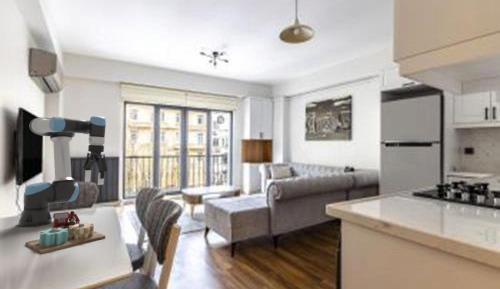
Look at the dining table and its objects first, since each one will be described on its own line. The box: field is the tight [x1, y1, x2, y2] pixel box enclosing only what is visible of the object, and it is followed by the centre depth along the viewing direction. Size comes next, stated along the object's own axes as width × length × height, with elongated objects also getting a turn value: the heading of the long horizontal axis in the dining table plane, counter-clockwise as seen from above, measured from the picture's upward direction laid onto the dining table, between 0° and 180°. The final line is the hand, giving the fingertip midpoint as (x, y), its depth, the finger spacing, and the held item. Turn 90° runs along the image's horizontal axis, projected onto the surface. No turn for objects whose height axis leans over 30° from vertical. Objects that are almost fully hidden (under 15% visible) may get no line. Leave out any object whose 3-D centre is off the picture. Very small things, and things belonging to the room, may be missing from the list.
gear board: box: [25, 222, 106, 255], centre depth 133 cm, size 17×28×7 cm, turn 147°
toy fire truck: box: [52, 210, 81, 229], centre depth 148 cm, size 7×12×10 cm, turn 135°
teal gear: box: [39, 228, 68, 246], centre depth 128 cm, size 11×11×5 cm
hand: (93, 183), depth 148 cm, fingers open, 13 cm apart
